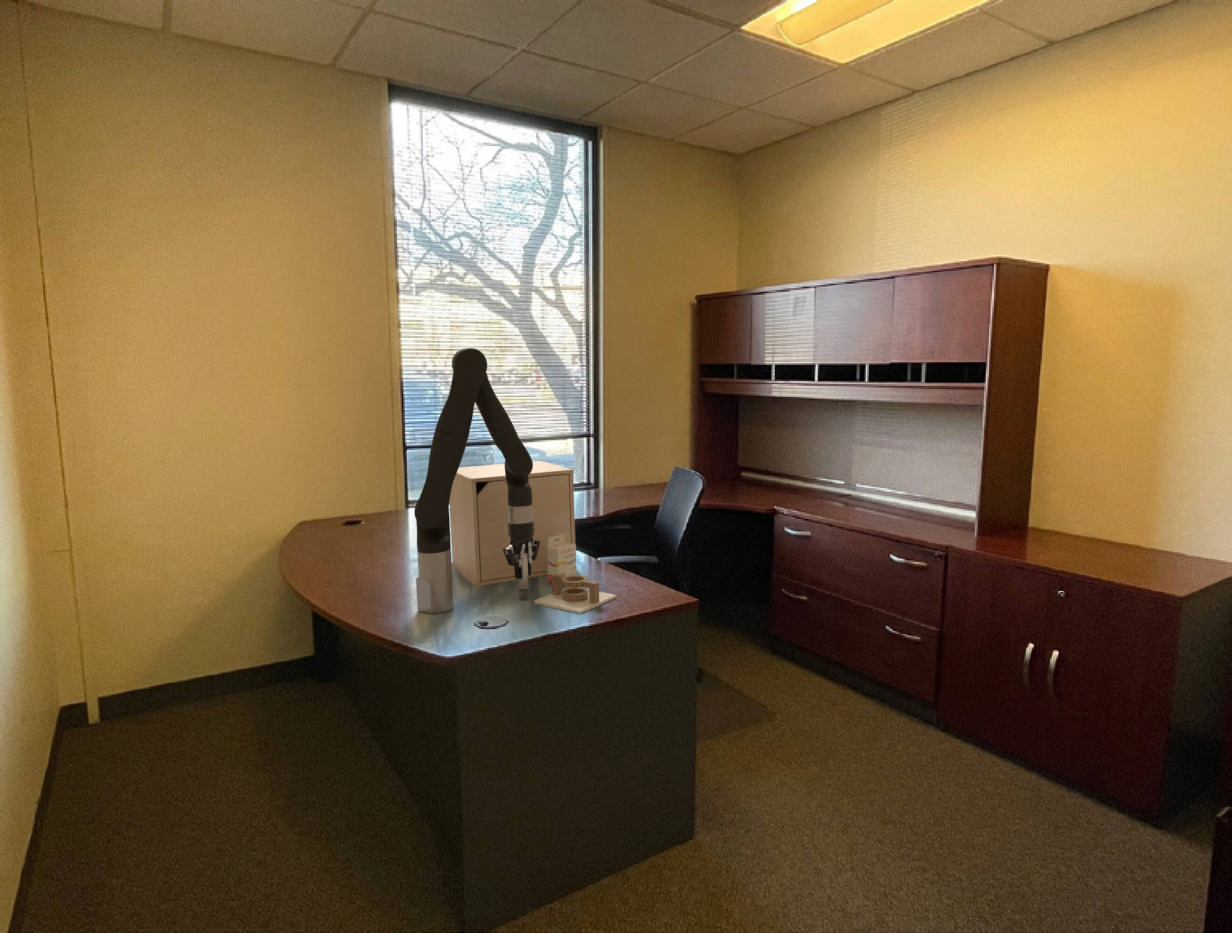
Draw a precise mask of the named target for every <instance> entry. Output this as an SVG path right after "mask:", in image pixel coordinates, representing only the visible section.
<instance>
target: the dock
mask: <svg viewBox="0 0 1232 933" xmlns="http://www.w3.org/2000/svg"><path fill="white" fill-rule="evenodd" d="M551 587H552V589H551V590H552V592H551V593H550V594H547V595H545V596H543V597H539V598H536V599H535V600H533V601H534V602H533V603H534V604H536V605H540V606H544V607H549V608H554V609H558V610H562V611H565V612H569V613H573V614H578V615H581V614H583V613H585V612H587V611H589V610H591V609H594V608H597V607H598V606H600V605H603V604H605V603H607V602H610V601H612V600H614V599H617V594H613V593H607V592H604V591H600V583H599V581H594V580H593V581H592V580H589V577H587V576H586V575H582V574H580V575H577V574H576V575H572V576H563V575H559V574H555V575H552V583H551ZM563 587H565V588H563Z"/></svg>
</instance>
